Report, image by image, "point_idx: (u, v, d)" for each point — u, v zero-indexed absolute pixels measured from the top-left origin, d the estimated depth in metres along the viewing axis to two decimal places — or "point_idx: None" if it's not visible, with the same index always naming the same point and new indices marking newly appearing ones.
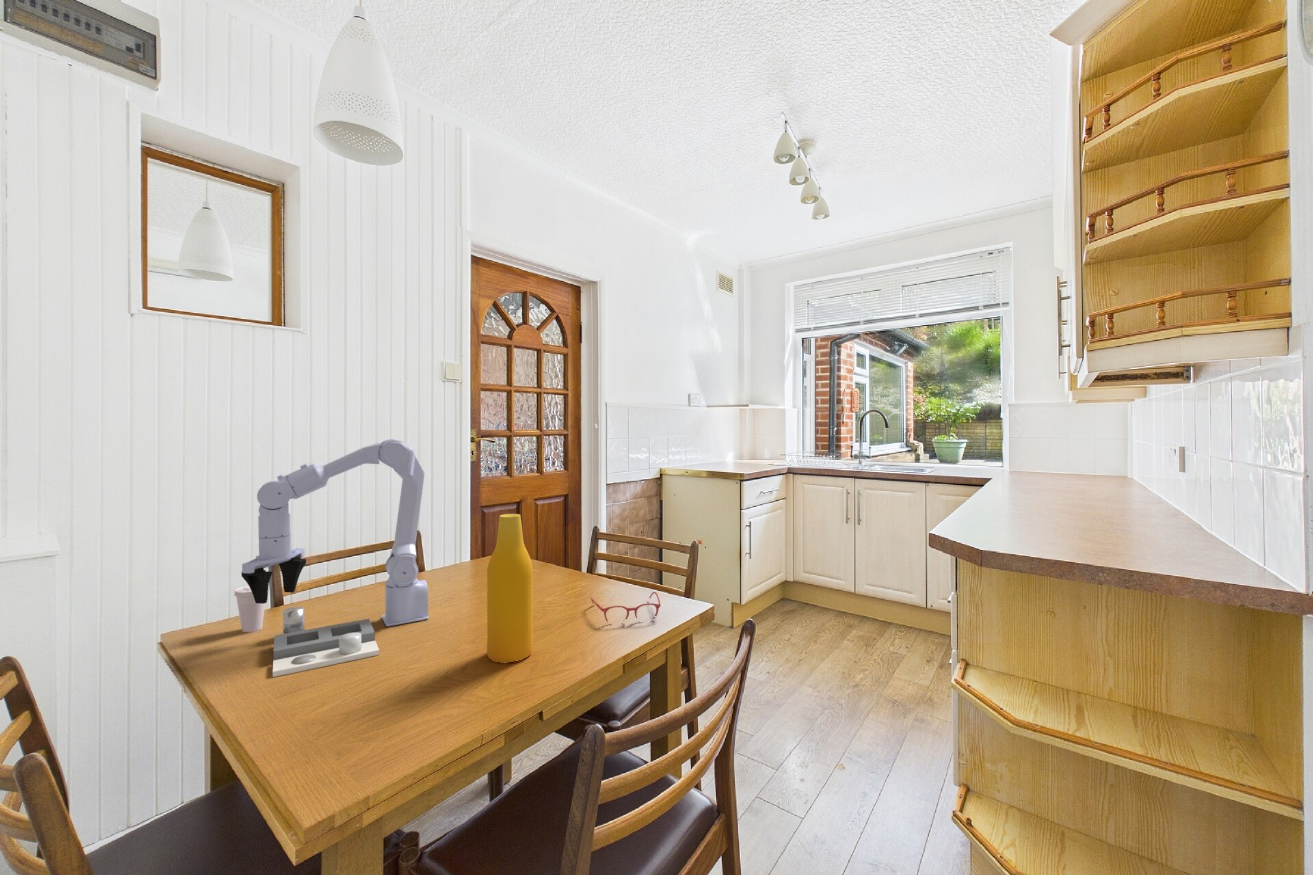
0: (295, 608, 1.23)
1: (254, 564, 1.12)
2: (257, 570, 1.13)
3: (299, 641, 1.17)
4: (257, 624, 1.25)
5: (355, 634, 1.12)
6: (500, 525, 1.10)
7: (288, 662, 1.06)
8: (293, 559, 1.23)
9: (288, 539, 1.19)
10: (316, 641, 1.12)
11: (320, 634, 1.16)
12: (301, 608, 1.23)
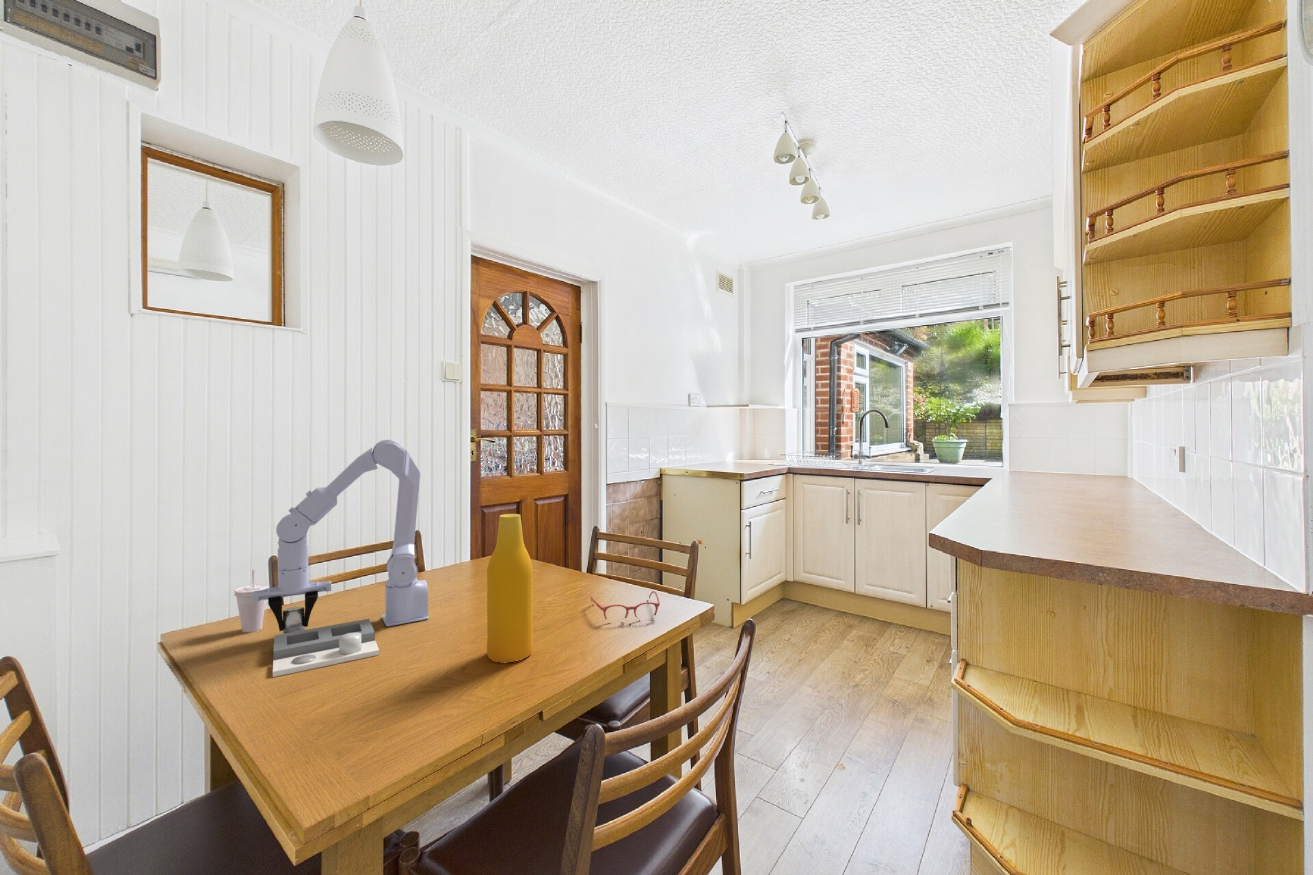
0: (295, 608, 1.23)
1: (258, 594, 1.17)
2: None
3: (299, 641, 1.17)
4: (257, 624, 1.25)
5: (355, 634, 1.12)
6: (500, 525, 1.10)
7: (288, 662, 1.06)
8: (315, 592, 1.23)
9: (296, 573, 1.20)
10: (316, 641, 1.12)
11: (320, 634, 1.16)
12: (301, 608, 1.23)
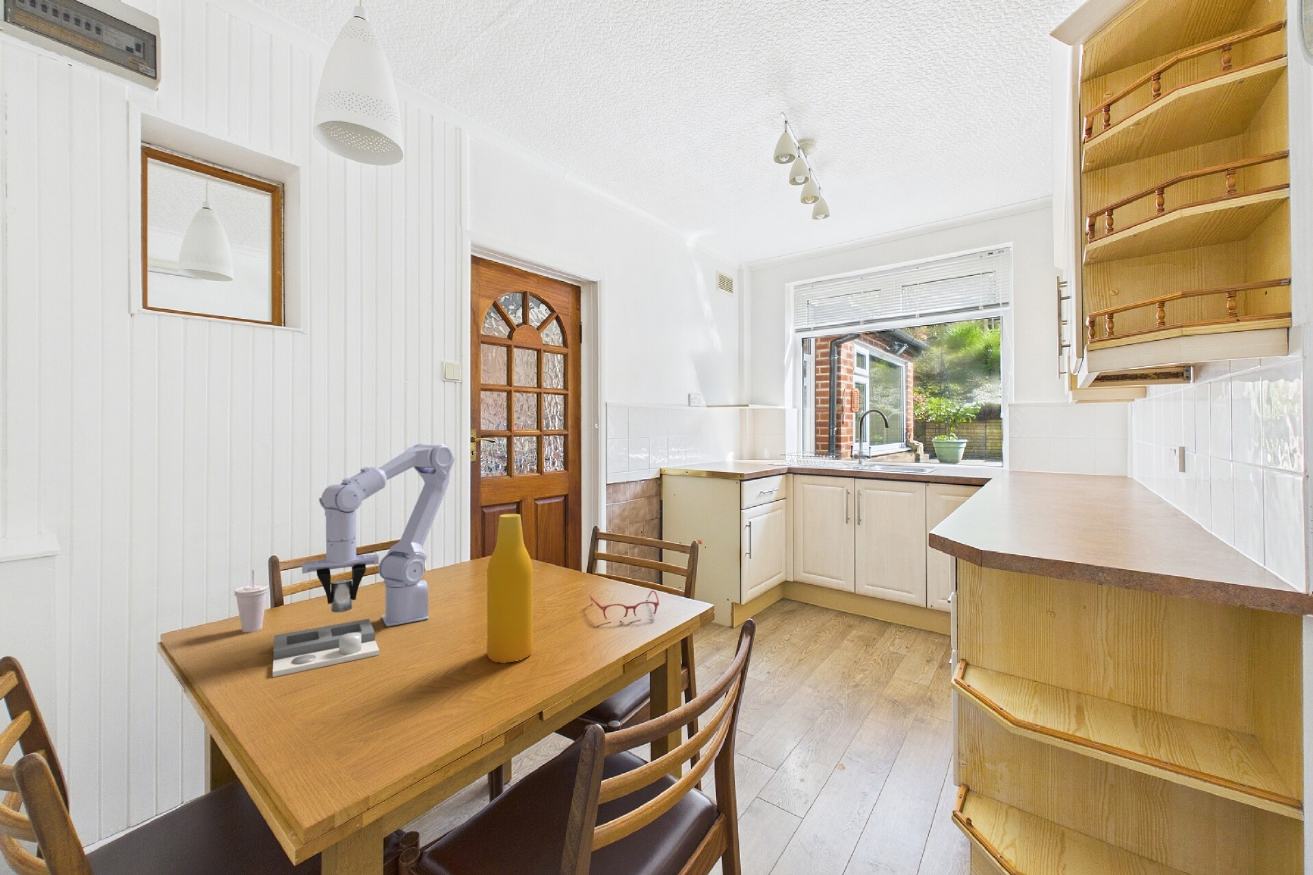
0: (343, 580, 1.20)
1: (307, 565, 1.15)
2: (312, 571, 1.15)
3: (299, 641, 1.17)
4: (257, 624, 1.25)
5: (355, 634, 1.12)
6: (500, 525, 1.10)
7: (288, 662, 1.06)
8: (363, 565, 1.21)
9: (345, 545, 1.17)
10: (316, 641, 1.12)
11: (320, 634, 1.16)
12: (349, 581, 1.20)
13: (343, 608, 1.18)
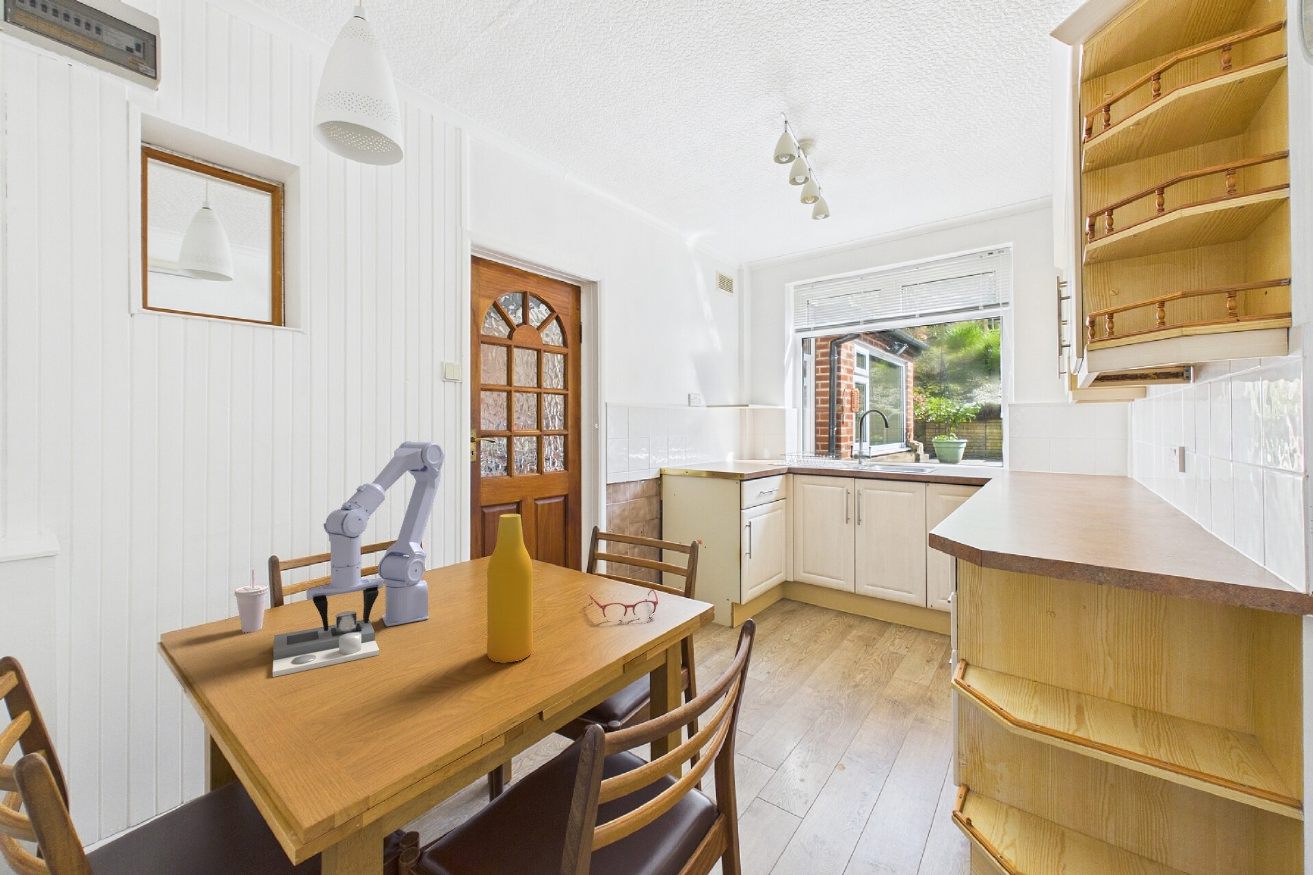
0: (347, 612, 1.20)
1: (312, 591, 1.14)
2: (317, 597, 1.15)
3: (299, 641, 1.17)
4: (257, 624, 1.25)
5: (355, 634, 1.12)
6: (500, 525, 1.10)
7: (288, 662, 1.06)
8: (367, 589, 1.21)
9: (350, 570, 1.17)
10: (316, 641, 1.12)
11: (320, 634, 1.16)
12: (353, 612, 1.20)
13: None
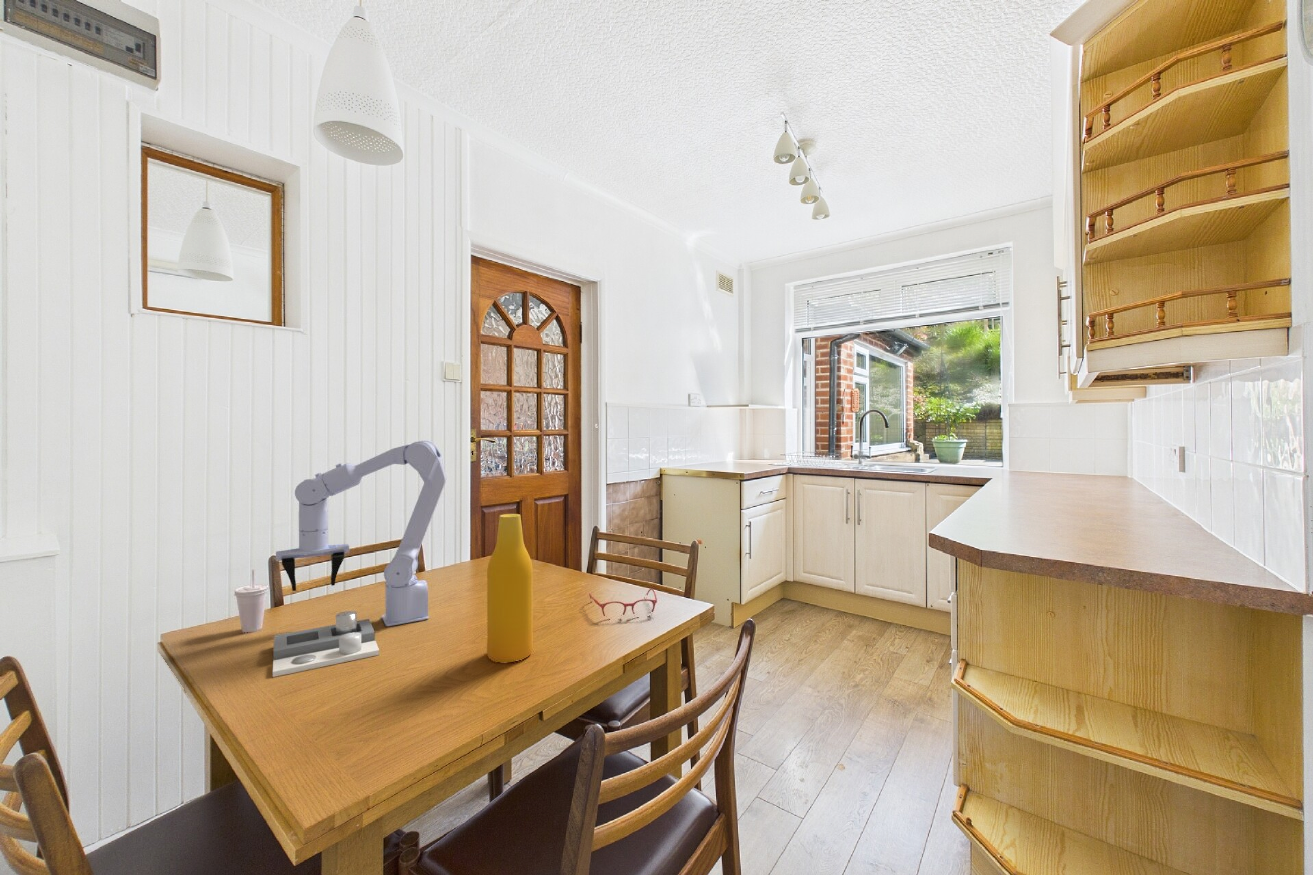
0: (347, 612, 1.20)
1: (280, 553, 1.23)
2: (285, 559, 1.23)
3: (299, 641, 1.17)
4: (257, 624, 1.25)
5: (355, 634, 1.12)
6: (500, 525, 1.10)
7: (288, 662, 1.06)
8: (334, 554, 1.29)
9: (317, 535, 1.25)
10: (316, 641, 1.12)
11: (320, 634, 1.16)
12: (353, 612, 1.20)
13: None
